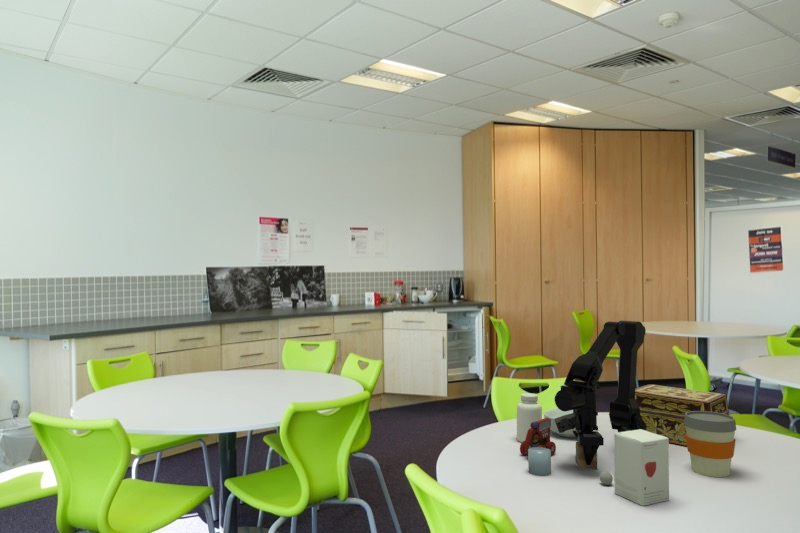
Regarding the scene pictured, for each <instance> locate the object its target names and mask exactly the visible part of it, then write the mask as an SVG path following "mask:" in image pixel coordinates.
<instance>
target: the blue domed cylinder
mask: <svg viewBox="0 0 800 533" xmlns="http://www.w3.org/2000/svg"><path fill="white" fill-rule="evenodd" d="M527 457H528V465H527V466H528V473H529V474H530V475H533V476H537V477H546V476H547V477H548V476H550V475H552V456H551V450H550V449H547V448H543V447H532V448H529V449H528V455H527Z"/></svg>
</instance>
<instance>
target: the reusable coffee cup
mask: <svg viewBox="0 0 800 533" xmlns="http://www.w3.org/2000/svg"><path fill="white" fill-rule="evenodd" d="M684 425H685V426H686V432H687V433H686V434H685V436H686V442H687V447H686V449H687V452H688V453H689V457H690V463H691V469H692V471H693V472H694V473H696V474H700V475H702V476H706V477H710V478H711V477H712V478H725V477H729V475H730V474H731V465H732V458H734V455H735V448H736V447H735V446H736V438H735V434H736V431H737V424H736V418H735V416H733V415H730V414H729V415H727V414H723V413H718V412H710V411H690V412H686V413H685V419H684Z"/></svg>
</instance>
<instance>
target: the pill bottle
mask: <svg viewBox="0 0 800 533" xmlns="http://www.w3.org/2000/svg"><path fill="white" fill-rule="evenodd" d="M542 413H543V408H542V405H541V404H540V403H539V402H538V394H536V393H531V392H530V393H529V392H526V393H525V392H523V393H521V394H520V402H518V403H517V405H516V440H517V441H518V442H520V443H522V442H523V441H525V439H526V436H527V432H528V429H530V428H531V427H530V425H531V423H532V422H536V421H539V420H541V419H543V414H542Z"/></svg>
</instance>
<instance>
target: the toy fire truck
mask: <svg viewBox="0 0 800 533" xmlns="http://www.w3.org/2000/svg"><path fill="white" fill-rule="evenodd" d="M530 427H531V428H530V429H528V432H527V436H526V439H525V441H523V442H520V445H519V452H520V454H521V455H523V456H528V449H529V448H532V447H543V448H547V449H550V450H551V457H552V456H554V455H555V453H556V450H557V446H556V443H555V441H551V430H550V427H551V419H550V418H544V417H543V418H542V419H541V420H539V421H536V422H532V423H531V425H530Z"/></svg>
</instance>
